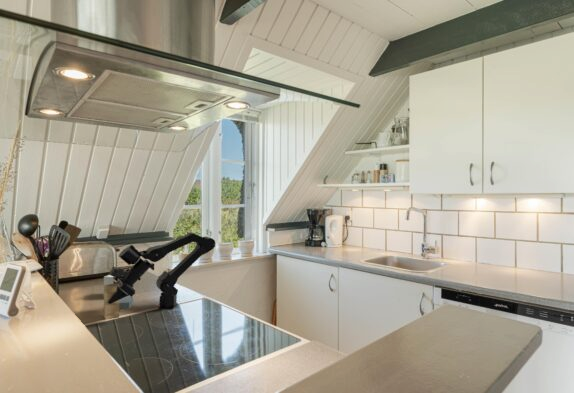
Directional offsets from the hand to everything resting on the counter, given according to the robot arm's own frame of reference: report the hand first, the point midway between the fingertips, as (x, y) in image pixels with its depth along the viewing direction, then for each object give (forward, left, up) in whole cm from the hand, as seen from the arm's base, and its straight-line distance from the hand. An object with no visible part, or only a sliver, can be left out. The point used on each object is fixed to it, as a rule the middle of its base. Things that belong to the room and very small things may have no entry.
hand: (107, 301), depth 143 cm
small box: (+13, -26, -7) cm, 30 cm away
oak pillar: (-1, -1, -7) cm, 7 cm away
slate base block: (+2, -14, -7) cm, 16 cm away
